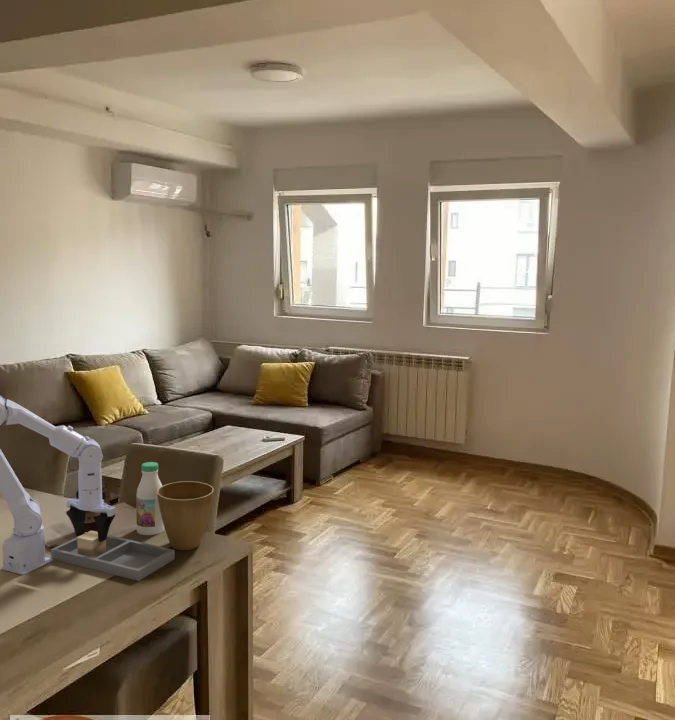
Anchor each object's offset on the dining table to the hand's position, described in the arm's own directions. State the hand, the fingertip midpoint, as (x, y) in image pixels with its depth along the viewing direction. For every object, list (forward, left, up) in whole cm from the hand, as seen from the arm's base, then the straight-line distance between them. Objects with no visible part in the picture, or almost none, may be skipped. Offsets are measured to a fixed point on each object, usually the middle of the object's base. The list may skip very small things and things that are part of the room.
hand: (91, 537), depth 182 cm
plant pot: (+16, -18, -5) cm, 25 cm away
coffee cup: (+13, +12, -5) cm, 18 cm away
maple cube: (0, 0, -4) cm, 4 cm away
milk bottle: (+20, -3, -5) cm, 21 cm away
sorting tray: (0, -7, -5) cm, 9 cm away
